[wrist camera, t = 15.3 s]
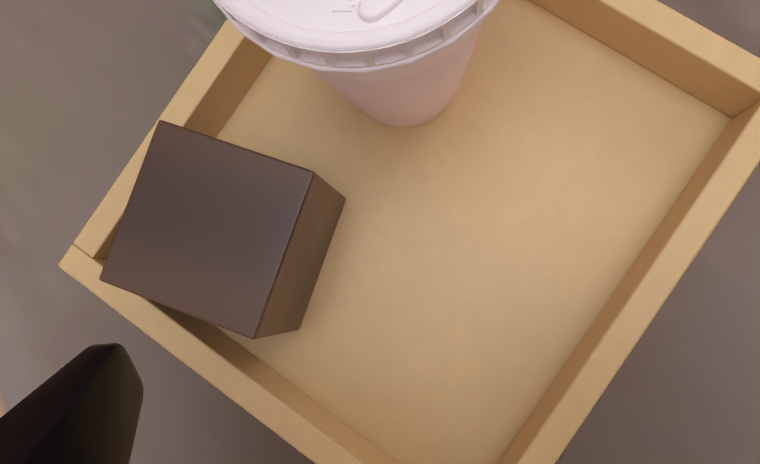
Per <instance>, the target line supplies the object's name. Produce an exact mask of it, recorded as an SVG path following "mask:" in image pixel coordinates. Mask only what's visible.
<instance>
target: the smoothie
mask: <svg viewBox="0 0 760 464" xmlns="http://www.w3.org/2000/svg"><path fill="white" fill-rule="evenodd" d="M213 1H214V3H215V4H216V5H217V6H218V7H219V9H220V10H221V11H222V12H223V13H224V15H225V16H226V17H227V18H228V19H229V21H230V22H231V23H232V24H233V25H234V27H235V28H236V29H237V30H238V31H239V33H241V34H242V35H244V36H245V37H247V38H248V39H250V40H251V41H253V42H254V43H256V44H257V45H259V46H260V47H261V48H263V49H264V50H266V51H267V52H269V53H270V54H272V55H273V56H275V57H277V58H280V59H283V60H286V61H289V62H292V63H295V64H298V65H301V66H304V67H307V68H310V69H311V70H312V71H314V72H315V73H316V74H317V75H319V76H320V77H321V78H322V79H323V80H325V81H326V82H327V83H328V84H329V85H331V86H332V87H333V88H334V89H336V90H337V91H338V92H339V93H340V94H342V95H343V96H344V97H345V98H346V99H348V100H349V101H350V102H351V103H353V104H354V105H355V106H356V107H357V108H359V109H360V110H361V111H362V112H363V113H365V114H366V115H367V116H369V117H370V118H371V119H373V120H375V121H377V122H379V123H382V124H385V125H388V126H393V127H410V126H416V125H419V124H422V123H425V122H427V121H429V120H431V119H433V118H434V117H436V116H437V115H439V114H440V113H441V112H442V111H443V110H445V109H446V107H447V106H448V105H449V104H450V103H451V101H452V100H453V98H454V96H455V95H456V93H457V90H458V88H459V85H460V83H461V80H462V77H463V75H464V72H465V70H466V67H467V64H468V62H469V59H470V56H471V54H472V51H473V48H474V46H475V43H476V40H477V38H478V35H479V33H480V30H481V27H482V25H483V22H484V19H485V17H486V16H487V15H488V14H489V13H490V12H491V11H492V10H493V9H494V7H495V6H496V4H497V3H498V2H499V0H213Z"/></svg>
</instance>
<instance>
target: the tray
mask: <svg viewBox="0 0 760 464" xmlns="http://www.w3.org/2000/svg"><path fill="white" fill-rule="evenodd" d="M159 120H163V121H166V122H169V123H172V124H175V125H178V126H181V127H184V128H187V129H190V130H193V131H196V132H199V133H202V134H205V135H208V136H211V137H214V138H217V139H220V140H223V141H226V142H229V143H232V144H235V145H238V146H241V147H244V148H247V149H250V150H253V151H256V152H259V153H262V154H264V155H267V156H270V157H273V158H276V159H279V160H282V161H285V162H288V163H291V164H294V165H297V166H300V167H303V168H306V169H309V170H312V171H314V172H315V173H316V174H318V175H319V176H320V177H321V178H322V179H324V180H325V181H326V182H327V183H328V184H330V185H331V186H332V187H333V188H334V189H336V190H337V191H338V192H339V193H340V194H342V195H343V196H344V197H345V198H346V201H345V203H344V206H343V209H342V212H341V215H340V217H339V220H338V223H337V226H336V229H335V231H334V234H333V237H332V240H331V242H330V245H329V248H328V251H327V254H326V256H325V259H324V262H323V265H322V268H321V270H320V273H319V276H318V279H317V282H316V284H315V287H314V290H313V293H312V296H311V298H310V301H309V304H308V307H307V309H306V312H305V315H304V318H303V321H302V323H301V326H300V329H299V330H295V331H291V332H286V333H281V334H277V335H272V336H268V337H263V338H258V339H250V338H247V337H245V336H242V335H239V334H237V333H234V332H232V331H229V330H227V329H224V328H221V327H219V326H216V325H214V324H211V323H208V322H206V321H203V320H201V319H198V318H195V317H193V316H190V315H188V314H185V313H182V312H180V311H177V310H175V309H172V308H169V307H167V306H164V305H162V304H159V303H157V302H154V301H151V300H149V299H146V298H144V297H141V296H138V295H136V294H133V293H131V292H128V291H125V290H123V289H120V288H118V287H115V286H112V285H110V284H107V283H105V282H102V281H100V280H99V277H100V275H101V272H102V269H103V267H104V264H105V261H106V259H107V256H108V253H109V251H110V248H111V245H112V243H113V240H114V237H115V235H116V232H117V229H118V227H119V224H120V221H121V219H122V216H123V214H124V211H125V208H126V206H127V203H128V200H129V198H130V195H131V192H132V190H133V187H134V184H135V182H136V179H137V176H138V174H139V171H140V168H141V166H142V163H143V160H144V158H145V155H146V152H147V150H148V147H149V144H150V142H151V139H152V136H153V134H154V131H155V128H156V126H157V123H158V121H159ZM759 162H760V58H758V57H756V56H754V55H753V54H751V53H749V52H747V51H745V50H744V49H742V48H740V47H738V46H737V45H735V44H733V43H731V42H729V41H728V40H726V39H724V38H722V37H721V36H719V35H717V34H715V33H713V32H712V31H710V30H708V29H706V28H705V27H703V26H701V25H699V24H697V23H696V22H694V21H692V20H690V19H689V18H687V17H685V16H683V15H681V14H680V13H678V12H676V11H674V10H673V9H671V8H669V7H667V6H665V5H664V4H662V3H660V2H658V1H656V0H499V2H498V3H497V4H496V6H495V7H494V9H493V10H492V11H491V12H490V13H489V14H488V15H487V16H486V17H485V19H484V22H483V25H482V27H481V30H480V33H479V35H478V38H477V40H476V43H475V46H474V48H473V51H472V54H471V56H470V59H469V62H468V64H467V67H466V70H465V72H464V75H463V77H462V80H461V83H460V85H459V88H458V90H457V93H456V95H455V96H454V98H453V100H452V101H451V103H450V104H449V105H448V106H447V107H446V109H445V110H443V111H442V112H441V113H440V114H439V115H437V116H436V117H434V118H433V119H431V120H429V121H427V122H425V123H422V124H419V125H416V126H410V127H393V126H388V125H385V124H382V123H379V122H377V121H375V120H373V119H371V118H370V117H369V116H367V115H366V114H365V113H363V112H362V111H361V110H360V109H359V108H357V107H356V106H355V105H354V104H353V103H351V102H350V101H349V100H348V99H346V98H345V97H344V96H343V95H342V94H340V93H339V92H338V91H337V90H336V89H334V88H333V87H332V86H331V85H329V84H328V83H327V82H326V81H325V80H323V79H322V78H321V77H320V76H319V75H317V74H316V73H315V72H314V71H312V70H311V69H310V68H307V67H304V66H301V65H298V64H295V63H292V62H289V61H286V60H283V59H280V58H277V57H275V56H273V55H272V54H270V53H269V52H267V51H266V50H264V49H263V48H261V47H260V46H259V45H257V44H256V43H254V42H253V41H251V40H250V39H248V38H247V37H245V36H244V35H242V34H241V33H239V31H238V30H237V29H236V28H235V27H234V25H233V24H232V23H231V22H230V21H229V19H228V18H227V20H226V21H225V23H224V24H223V26H222V27H221V29H220V30H219V32H218V33H217V34H216V36H215V37H214V39H213V40H212V42H211V43H210V45H209V46H208V48H207V49H206V50H205V52H204V53H203V55H202V56H201V58H200V59H199V61H198V62H197V63H196V65H195V66H194V68H193V69H192V71H191V72H190V74H189V75H188V77H187V78H186V79H185V81H184V82H183V84H182V85H181V87H180V88H179V90H178V91H177V93H176V94H175V95H174V97H173V98H172V100H171V101H170V103H169V104H168V106H167V107H166V109H165V110H164V111H163V113H162V114H161V116H160V117H159V119H158V120H157V122H156V123H155V125H154V126H153V127H152V129H151V130H150V132H149V133H148V135H147V136H146V138H145V139H144V141H143V142H142V143H141V145H140V146H139V148H138V149H137V151H136V152H135V154H134V155H133V157H132V158H131V159H130V161H129V162H128V164H127V165H126V167H125V168H124V170H123V171H122V172H121V174H120V175H119V177H118V178H117V180H116V181H115V183H114V184H113V186H112V187H111V188H110V190H109V191H108V193H107V194H106V196H105V197H104V199H103V200H102V202H101V203H100V204H99V206H98V207H97V209H96V210H95V212H94V213H93V215H92V216H91V218H90V219H89V220H88V222H87V223H86V225H85V226H84V228H83V229H82V231H81V232H80V234H79V235H78V236H77V238H76V239H75V241H74V244H75V245H74V244H73V245H71V247H70V248H69V250H68V251H67V252H66V254H65V255H64V257H63V258H62V260H61V261H60V263H59V264H58V266H59V267H60V268H61V269H62V270H64V271H65V272H66V273H68V274H69V275H70V276H72V277H73V278H74V279H76V280H77V281H78V282H79V283H81V284H82V285H83V286H85V287H86V288H87V289H89V290H90V291H91V292H92V293H94V294H95V295H96V296H98V297H99V298H100V299H102V300H103V301H104V302H105V303H107V304H108V305H109V306H111V307H112V308H113V309H115V310H116V311H117V312H119V313H120V314H121V315H122V316H124V317H125V318H126V319H128V320H129V321H130V322H132V323H133V324H134V325H135V326H137V327H138V328H139V329H141V330H142V331H143V332H145V333H146V334H147V335H149V336H150V337H151V338H152V339H154V340H155V341H156V342H158V343H159V344H160V345H162V346H163V347H164V348H165V349H167V350H168V351H169V352H171V353H172V354H173V355H175V356H176V357H177V358H178V359H180V360H181V361H182V362H184V363H185V364H186V365H188V366H189V367H190V368H192V369H193V370H194V371H195V372H197V373H198V374H199V375H201V376H202V377H203V378H205V379H206V380H207V381H208V382H210V383H211V384H212V385H214V386H215V387H216V388H218V389H219V390H220V391H221V392H223V393H224V394H225V395H227V396H228V397H229V398H231V399H232V400H233V401H235V402H236V403H237V404H238V405H240V406H241V407H242V408H244V409H245V410H246V411H248V412H249V413H250V414H251V415H253V416H254V417H255V418H257V419H258V420H259V421H261V422H262V423H263V424H264V425H266V426H267V427H268V428H270V429H271V430H272V431H274V432H275V433H276V434H278V435H279V436H280V437H281V438H283V439H284V440H285V441H287V442H288V443H289V444H291V445H292V446H293V447H294V448H296V449H297V450H298V451H300V452H301V453H302V454H304V455H305V456H306V457H308V458H309V459H310V460H311V461H313V462H314V463H315V464H555V463H556V461H557V460H558V458H559V457H560V455H561V454H562V452H563V451H564V450H565V448H566V447H567V445H568V444H569V442H570V441H571V439H572V438H573V436H574V435H575V433H576V432H577V430H578V429H579V427H580V426H581V424H582V423H583V421H584V420H585V419H586V417H587V416H588V414H589V413H590V411H591V410H592V408H593V407H594V405H595V404H596V402H597V401H598V399H599V398H600V396H601V395H602V393H603V392H604V390H605V389H606V388H607V386H608V385H609V383H610V382H611V380H612V379H613V377H614V376H615V374H616V373H617V371H618V370H619V368H620V367H621V365H622V364H623V362H624V361H625V359H626V358H627V357H628V355H629V354H630V352H631V351H632V349H633V348H634V346H635V345H636V343H637V342H638V340H639V339H640V337H641V336H642V334H643V333H644V331H645V330H646V328H647V327H648V326H649V324H650V323H651V321H652V320H653V318H654V317H655V315H656V314H657V312H658V311H659V309H660V308H661V306H662V305H663V303H664V302H665V300H666V299H667V297H668V296H669V295H670V293H671V292H672V290H673V289H674V287H675V286H676V284H677V283H678V281H679V280H680V278H681V277H682V275H683V274H684V272H685V271H686V269H687V268H688V266H689V265H690V264H691V262H692V261H693V259H694V258H695V256H696V255H697V253H698V252H699V250H700V249H701V247H702V246H703V244H704V243H705V241H706V240H707V238H708V237H709V235H710V234H711V233H712V231H713V230H714V228H715V227H716V225H717V224H718V222H719V221H720V219H721V218H722V216H723V215H724V213H725V212H726V210H727V209H728V207H729V206H730V204H731V203H732V202H733V200H734V199H735V197H736V196H737V194H738V193H739V191H740V190H741V188H742V187H743V185H744V184H745V182H746V181H747V179H748V178H749V176H750V175H751V173H752V172H753V171H754V169H755V168H756V166H757V165H758V163H759Z"/></svg>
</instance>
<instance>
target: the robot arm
mask: <svg viewBox="0 0 760 464" xmlns="http://www.w3.org/2000/svg"><path fill="white" fill-rule="evenodd" d="M142 401H143V384H142V381H141V378H140V376H139V375H138V373H137V371H136V369H135V367H134V365H133V363H132V361H131V359H130V357H129V355H128V353H127V351H126V350H125V348H124V347H123V346H122V345H120V344H117V343H112V344H95V345H91V346H89V347H88V348H86V349H85V350H83V351H82V352H81V353H80V354H79V355H77V356H76V357H75V358H74V359H72V360H71V361H70V362H69V363H67V364H66V365H65V366H64V367H63V368H61V369H60V370H59V371H58V372H56V373H55V374H54V375H53V376H51V377H50V378H49V379H48V380H47V381H45V382H44V383H43V384H42V385H40V386H39V387H38V388H37V389H35V390H34V391H33V392H32V393H31V394H29V395H28V396H27V397H26V398H24V399H23V400H22V401H21V402H19V403H18V404H17V405H16V406H15V407H13V408H12V409H11V410H10V411H8V412H7V413H6V414H5V415H4V416H2V417H1V418H0V464H129V461H130V456H131V451H132V447H133V442H134V438H135V433H136V428H137V424H138V419H139V415H140V410H141V405H142Z"/></svg>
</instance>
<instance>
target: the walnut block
mask: <svg viewBox="0 0 760 464" xmlns="http://www.w3.org/2000/svg"><path fill="white" fill-rule="evenodd" d="M345 201H346V198H345V197H344V196H343V195H342V194H340V193H339V192H338V191H337V190H336V189H334V188H333V187H332V186H331V185H330V184H328V183H327V182H326V181H325V180H324V179H322V178H321V177H320V176H319V175H318V174H316V173H315V172H314V171H312V170H309V169H306V168H303V167H300V166H297V165H294V164H291V163H288V162H285V161H282V160H279V159H276V158H273V157H270V156H267V155H264V154H262V153H259V152H256V151H253V150H250V149H247V148H244V147H241V146H238V145H235V144H232V143H229V142H226V141H223V140H220V139H217V138H214V137H211V136H208V135H205V134H202V133H199V132H196V131H193V130H190V129H187V128H184V127H181V126H178V125H175V124H172V123H169V122H166V121H163V120H159V121H158V123H157V126H156V128H155V131H154V134H153V136H152V139H151V142H150V144H149V147H148V150H147V152H146V155H145V158H144V160H143V163H142V166H141V168H140V171H139V174H138V176H137V179H136V182H135V184H134V187H133V190H132V192H131V195H130V198H129V200H128V203H127V206H126V208H125V211H124V214H123V216H122V219H121V221H120V224H119V227H118V229H117V232H116V235H115V237H114V240H113V243H112V245H111V248H110V251H109V253H108V256H107V259H106V261H105V264H104V267H103V269H102V272H101V275H100V277H99V280H100V281H102V282H105V283H107V284H110V285H112V286H115V287H118V288H120V289H123V290H125V291H128V292H131V293H133V294H136V295H138V296H141V297H144V298H146V299H149V300H151V301H154V302H157V303H159V304H162V305H164V306H167V307H169V308H172V309H175V310H177V311H180V312H182V313H185V314H188V315H190V316H193V317H195V318H198V319H201V320H203V321H206V322H208V323H211V324H214V325H216V326H219V327H221V328H224V329H227V330H229V331H232V332H234V333H237V334H239V335H242V336H245V337H247V338H250V339H258V338H263V337H268V336H272V335H277V334H281V333H286V332H291V331H295V330H299V329H300V326H301V323H302V321H303V318H304V315H305V312H306V309H307V307H308V304H309V301H310V298H311V296H312V293H313V290H314V287H315V284H316V282H317V279H318V276H319V273H320V270H321V268H322V265H323V262H324V259H325V256H326V254H327V251H328V248H329V245H330V242H331V240H332V237H333V234H334V231H335V229H336V226H337V223H338V220H339V217H340V215H341V212H342V209H343V206H344V203H345Z"/></svg>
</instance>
